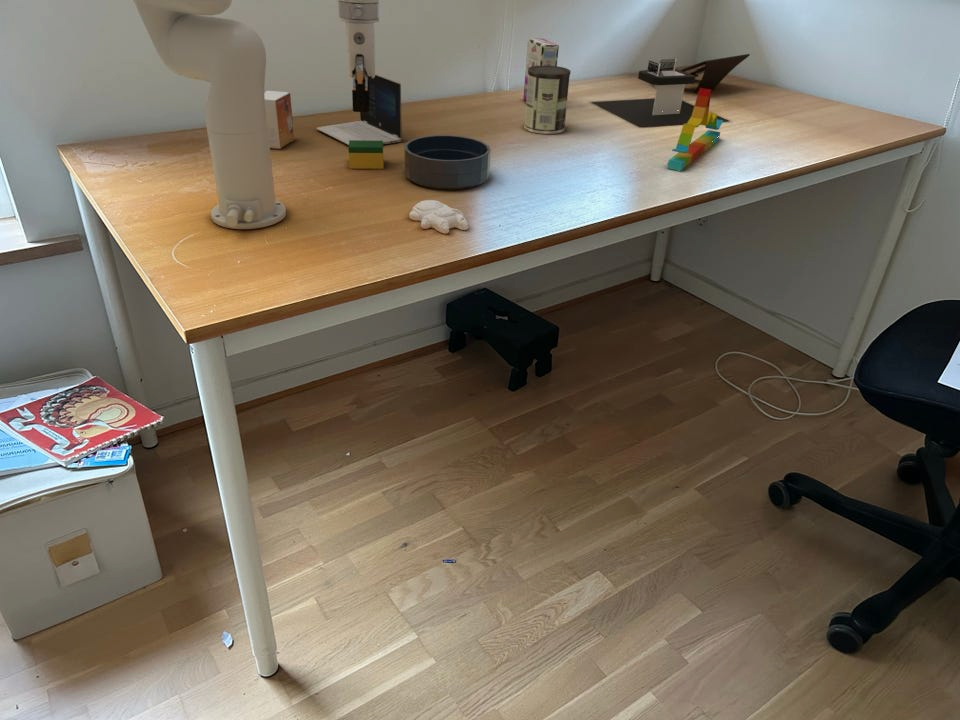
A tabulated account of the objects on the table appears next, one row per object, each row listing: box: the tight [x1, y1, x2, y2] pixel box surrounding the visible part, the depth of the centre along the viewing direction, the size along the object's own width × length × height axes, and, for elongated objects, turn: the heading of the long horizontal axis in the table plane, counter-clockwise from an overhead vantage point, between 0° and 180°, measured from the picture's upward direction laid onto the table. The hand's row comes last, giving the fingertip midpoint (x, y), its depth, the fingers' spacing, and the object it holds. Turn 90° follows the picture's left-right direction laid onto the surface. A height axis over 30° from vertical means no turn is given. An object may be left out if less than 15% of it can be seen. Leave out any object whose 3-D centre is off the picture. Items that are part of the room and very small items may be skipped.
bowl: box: [403, 134, 492, 191], centre depth 149 cm, size 17×17×6 cm
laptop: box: [315, 73, 403, 146], centre depth 168 cm, size 18×12×13 cm
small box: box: [264, 90, 295, 150], centre depth 161 cm, size 8×6×10 cm
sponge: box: [347, 140, 385, 170], centre depth 153 cm, size 5×7×4 cm
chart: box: [667, 88, 724, 172], centre depth 167 cm, size 30×3×15 cm, turn 149°
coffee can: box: [523, 65, 572, 135], centre depth 180 cm, size 10×10×14 cm
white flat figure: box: [408, 199, 469, 235], centre depth 129 cm, size 9×12×3 cm
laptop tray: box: [679, 53, 750, 93], centre depth 228 cm, size 23×23×9 cm
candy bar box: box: [522, 37, 560, 102], centre depth 200 cm, size 11×5×16 cm, turn 17°
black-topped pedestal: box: [592, 58, 730, 128], centre depth 200 cm, size 28×26×13 cm
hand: (361, 105), depth 147 cm, fingers open, 9 cm apart
